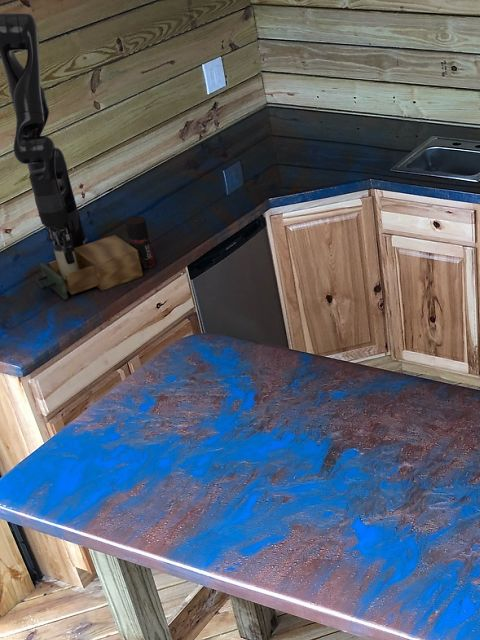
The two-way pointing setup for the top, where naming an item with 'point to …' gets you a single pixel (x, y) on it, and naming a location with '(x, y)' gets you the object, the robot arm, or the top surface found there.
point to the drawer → (68, 278)
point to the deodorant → (140, 240)
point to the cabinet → (111, 261)
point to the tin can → (64, 262)
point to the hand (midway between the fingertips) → (66, 259)
